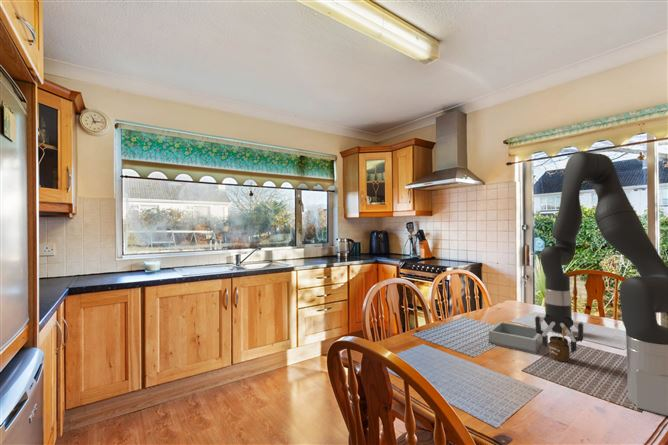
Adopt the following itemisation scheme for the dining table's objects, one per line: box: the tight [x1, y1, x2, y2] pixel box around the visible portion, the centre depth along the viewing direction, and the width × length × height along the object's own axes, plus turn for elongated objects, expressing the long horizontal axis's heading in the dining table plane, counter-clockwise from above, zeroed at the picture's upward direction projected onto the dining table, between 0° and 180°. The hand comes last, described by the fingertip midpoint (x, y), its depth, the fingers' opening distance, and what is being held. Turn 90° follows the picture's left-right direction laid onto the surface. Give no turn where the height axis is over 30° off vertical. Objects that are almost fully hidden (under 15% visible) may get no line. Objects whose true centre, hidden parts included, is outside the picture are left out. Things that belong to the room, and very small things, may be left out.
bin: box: [488, 321, 544, 355], centre depth 125 cm, size 16×16×5 cm
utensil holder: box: [548, 327, 571, 362], centre depth 110 cm, size 6×6×12 cm
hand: (559, 349), depth 110 cm, fingers open, 7 cm apart
